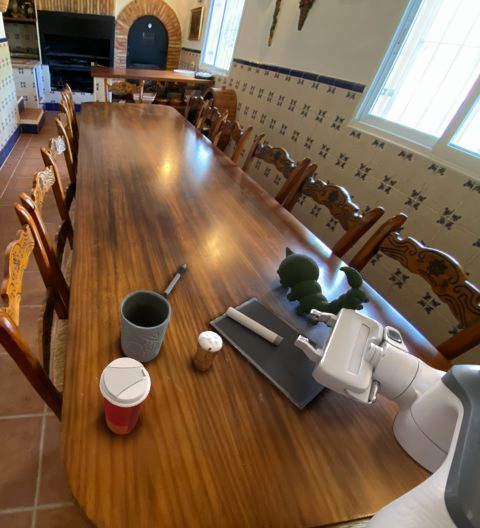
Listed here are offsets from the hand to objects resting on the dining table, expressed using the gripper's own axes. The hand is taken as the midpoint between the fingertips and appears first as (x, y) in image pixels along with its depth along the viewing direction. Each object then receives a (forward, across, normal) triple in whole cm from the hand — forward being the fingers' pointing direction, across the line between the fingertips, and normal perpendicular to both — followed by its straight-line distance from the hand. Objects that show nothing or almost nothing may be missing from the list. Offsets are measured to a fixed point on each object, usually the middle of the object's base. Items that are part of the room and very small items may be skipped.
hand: (303, 325), depth 60 cm
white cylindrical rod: (+2, 0, -8) cm, 8 cm away
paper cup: (+18, -35, -10) cm, 41 cm away
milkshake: (+12, -16, -10) cm, 22 cm away
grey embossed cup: (+25, -21, -10) cm, 34 cm away
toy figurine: (+2, +19, -10) cm, 21 cm away
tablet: (+3, 0, -10) cm, 10 cm away
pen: (+31, +2, -10) cm, 32 cm away
